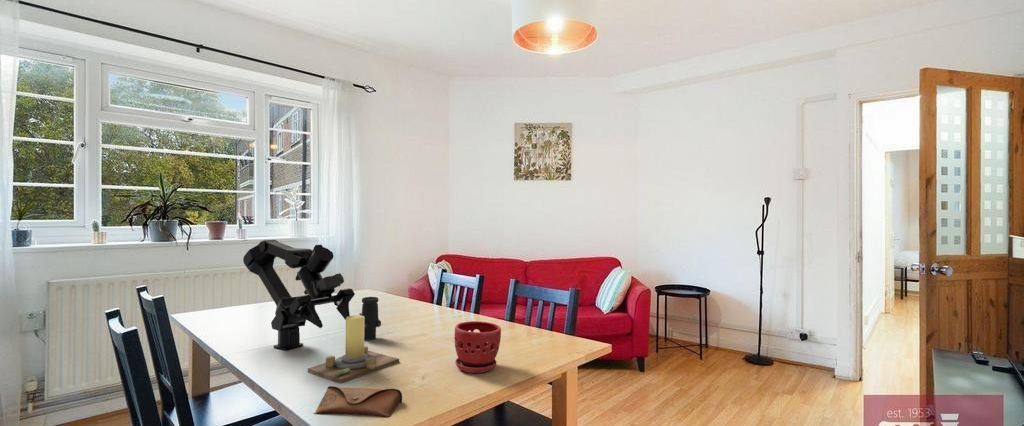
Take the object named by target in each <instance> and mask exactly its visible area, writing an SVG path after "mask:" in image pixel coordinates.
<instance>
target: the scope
mask: <svg viewBox="0 0 1024 426" xmlns="http://www.w3.org/2000/svg"><path fill="white" fill-rule="evenodd" d="M361 302H362V305H361V312H359V314H358V315H361V316H364V317H365V320H364V341H372V340H373V341H374V340H376V339H377V328H380V327H381V325H382V321H381V320H380V319H379V304H378V302H379V298H378V297H377V296H366V297H363V298H361Z"/></svg>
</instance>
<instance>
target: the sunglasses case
mask: <svg viewBox="0 0 1024 426" xmlns="http://www.w3.org/2000/svg"><path fill="white" fill-rule="evenodd" d="M320 400H321V401H320V403H319V404H318V407H316V408H317V409H316V410H315V412H313V415H348V416H349V415H351V416H353V415H354V416H355V415H356V416H372V417H373V416H374V417H382V418H383V417H384V418H385V417H387V418H389V417H392V415H393V413H394V412H395V411H396V409H397V408H398V407H399V406H400V404H402V403H403V393H402V392H401V391H400V389H397V388H385V389H384V388H383V389H381V388H365V387H341V386H334V385H330V386H327V389H326V390H325V393H324V395H323V397H322V399H320Z"/></svg>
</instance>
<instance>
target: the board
mask: <svg viewBox="0 0 1024 426" xmlns="http://www.w3.org/2000/svg"><path fill="white" fill-rule="evenodd" d="M364 353H366V354H367V355H368V358H367V359H366V361H365V362H362V363H357V364H346V363H343V362H342V356H339V357H337V358H336V356H334V355H333V356H332V355H329V356H327V357H325V362H324V363H321V364H318V365H314V366H311V367H308V368H307V373H310V374H312V375H314V376H315V375H316V376H318V377H321V378H324V379H326V380H329V381H332V382H336V383H339V384H342V383H345V382H348V381H350V380H353V379H357V378H359V377H361V376H364V375H367V374H369V373H372V372H375V371H379V370H381V369H384V368H387V367H389V366H392V365H395V364H398V363H400V359H399V358H397V357H394V356H391V355H386V354H383V353H379V352H376V351H372V350H369V347H368V346H364Z"/></svg>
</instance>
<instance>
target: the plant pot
mask: <svg viewBox="0 0 1024 426" xmlns="http://www.w3.org/2000/svg"><path fill="white" fill-rule="evenodd" d="M476 330H477V331H476ZM478 331H479V332H478ZM501 334H502V328H501V326H500V325H498V324H496V323H493V322H487V321H475V320H474V321H464V322H460V323H459V322H458V323H457V324H456V325H455V327H454V347H455V352H456V353H455V354H456V357H457V358H456V359H455V366H456V367H457V368H458V369H459V370H461V371H462V372H465V373H470V374H471V373H473V374H475V373H476V374H478V373H487V372H488V371H491V370H492V369H494V368H495V367H496V365H497V360H496V358H497V355H498V353H499V349H500V345H501V339H502V338H501V337H502V335H501Z"/></svg>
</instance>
